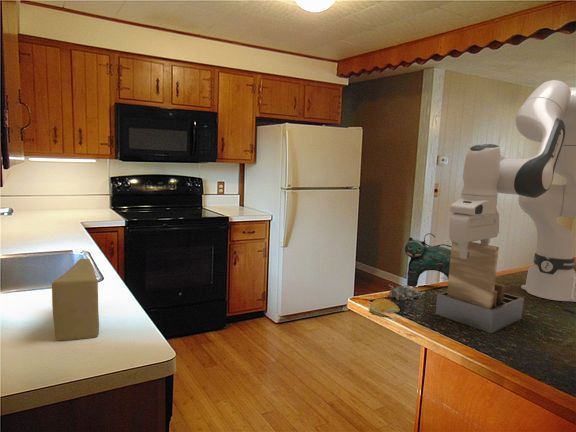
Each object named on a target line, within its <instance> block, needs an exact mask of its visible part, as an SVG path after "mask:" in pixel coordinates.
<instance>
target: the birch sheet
mask: <svg viewBox="0 0 576 432" xmlns="http://www.w3.org/2000/svg"><path fill="white" fill-rule="evenodd" d="M480 243H481V242H475V241H473V242H469V244H468V246H467V249H468V252H469V258H466V259H463V258H460V250H459V247H458V243H456V242H452V241H451V245H450V246H451V247H450V249H451V257H450V268H449V279H448V278H447V282H448V283H447V289H446V291H447V296H449V297H452V298H456V299H459V300H462V301H466V302H469V303H472V304H476V305H479V306H482V307H486V308H489V309H492V306H493V296H494V287H495V283H496V277H497V267H498V257H499V246H494V245H490V244H489V245H485V244H480Z"/></svg>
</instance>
